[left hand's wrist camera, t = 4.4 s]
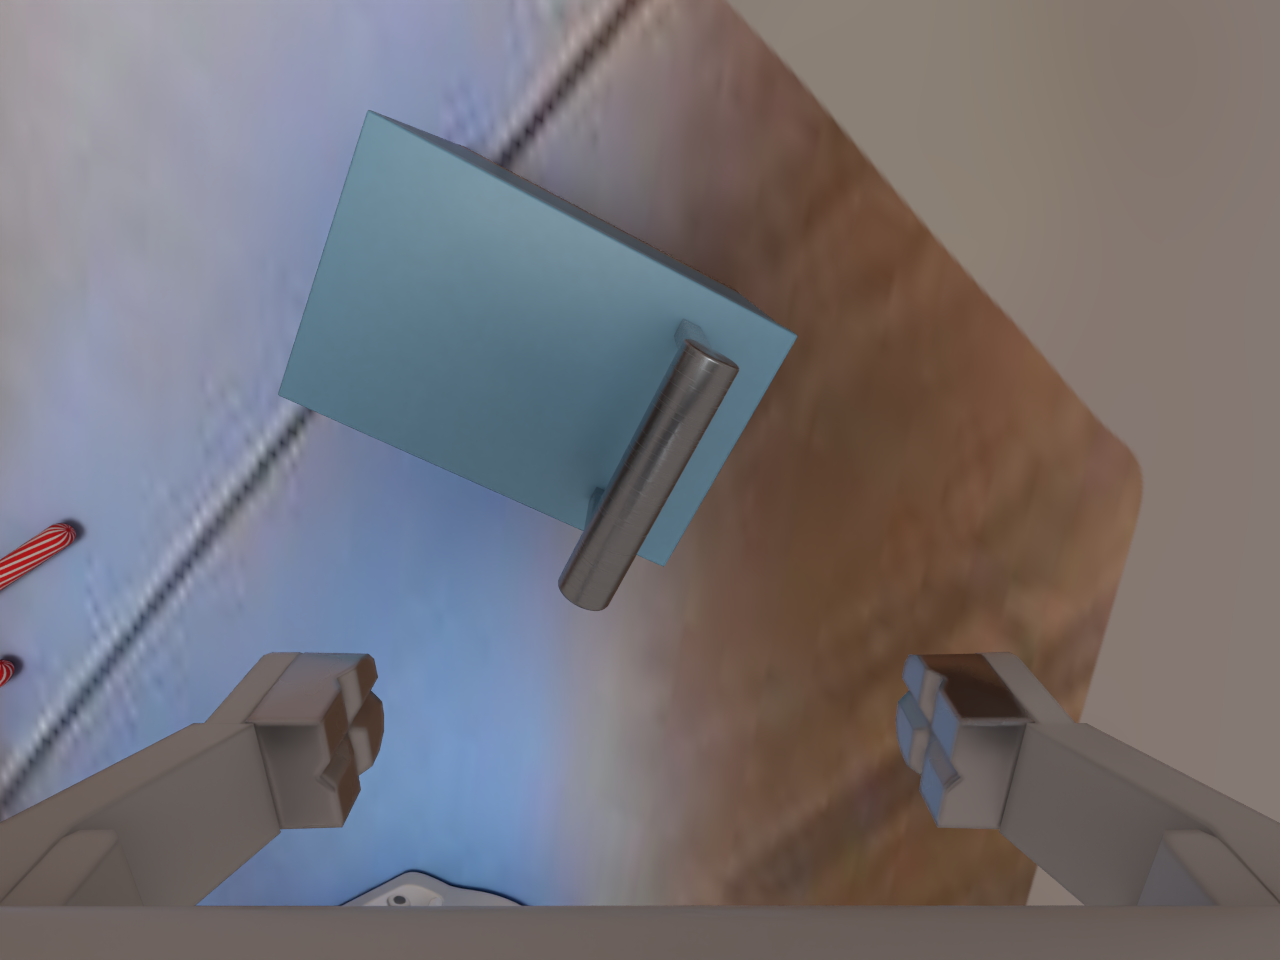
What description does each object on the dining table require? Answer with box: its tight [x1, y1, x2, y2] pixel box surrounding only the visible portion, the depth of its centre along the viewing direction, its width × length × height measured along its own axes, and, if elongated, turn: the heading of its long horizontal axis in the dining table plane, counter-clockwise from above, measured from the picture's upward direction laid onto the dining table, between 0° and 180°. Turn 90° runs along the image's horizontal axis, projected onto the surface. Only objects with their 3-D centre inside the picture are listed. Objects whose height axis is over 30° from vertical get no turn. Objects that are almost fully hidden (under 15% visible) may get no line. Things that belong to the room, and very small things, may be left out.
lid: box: [278, 110, 797, 611], centre depth 21 cm, size 15×10×8 cm, turn 63°
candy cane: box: [0, 523, 76, 687], centre depth 40 cm, size 6×15×2 cm, turn 122°
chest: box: [385, 116, 775, 322], centre depth 30 cm, size 15×10×11 cm
